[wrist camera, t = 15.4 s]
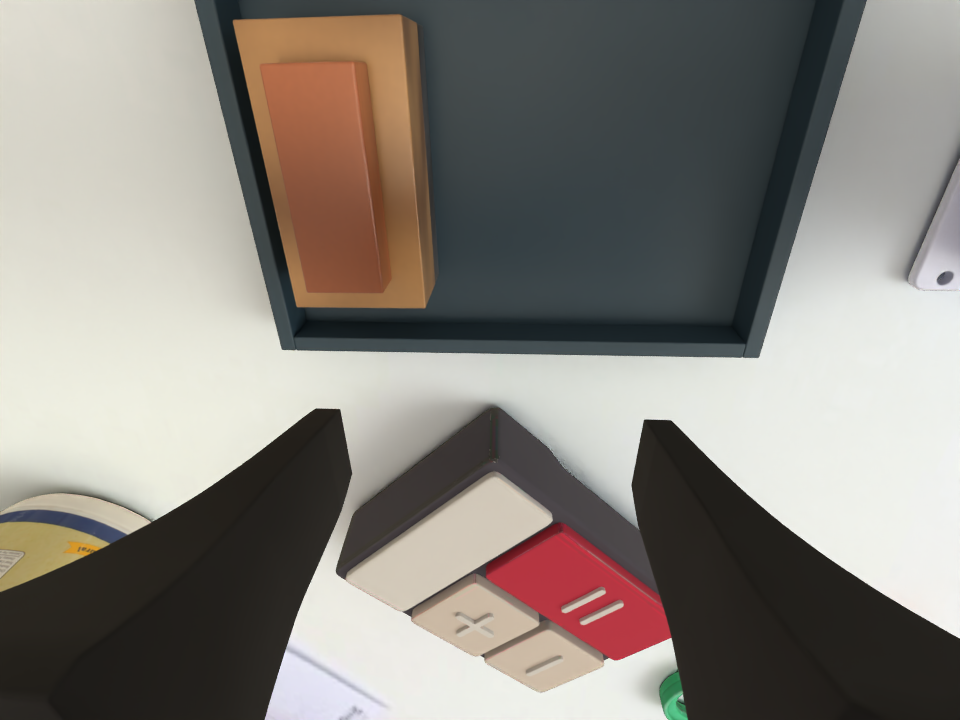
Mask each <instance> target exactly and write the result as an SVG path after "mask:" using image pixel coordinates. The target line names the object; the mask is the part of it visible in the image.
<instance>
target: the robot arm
mask: <svg viewBox="0 0 960 720" xmlns="http://www.w3.org/2000/svg"><path fill="white" fill-rule="evenodd" d="M943 272H945V275H944V276H943V277H942V278H941V279H939V280H937V278H938V276H939V275H940V274H942V273H943ZM908 281H909V284H910V285H912V286H913V287H915V288H916V289H918V290H923V291H960V159H959V161H958V163H957V166H956V168H955V170H954V172H953V175H952V177H951V179H950V182H949V184H948V186H947V189H946V191H945V193H944V195H943V198H942V200H941V202H940V205H939V207H938V209H937V212H936V214H935V216H934V218H933V221H932V223H931V225H930V228H929V230H928V232H927V235H926V237H925V239H924V241H923V244H922V246H921V248H920V251H919V253H918V255H917V258H916V260H915V262H914V264H913V267H912V269H911V271H910V274H909V277H908ZM351 476H352V470H351V465H350V459H349V454H348V449H347V443H346V438H345V433H344V427H343V422H342V417H341V411H340V409H314V410H313V411H311V412H310V413H309V414H307V415H306V416H305V417H303V418H302V419H301V420H299V421H298V422H297V423H296V424H294V425H293V426H292V427H290V428H289V429H288V430H287V431H285V432H284V433H283V434H282V435H280V436H279V437H278V438H276V439H275V440H274V441H273V442H271V443H270V444H269V445H267V446H266V447H265V448H263V449H262V450H261V451H260V452H258V453H257V454H256V455H254V456H253V457H252V458H250V459H249V460H248V461H246V462H245V463H243V464H242V465H241V466H239V467H238V468H236V469H235V470H233V471H232V472H231V473H229V474H228V475H226V476H225V477H224V478H222V479H221V480H219V481H218V482H216V483H215V484H214V485H212V486H211V487H209V488H208V489H206V490H205V491H203V492H202V493H200V494H198V495H197V496H195V497H194V498H192V499H191V500H189V501H187V502H186V503H184V504H182V505H181V506H179V507H177V508H176V509H174V510H172V511H171V512H169V513H167V514H166V515H164V516H162V517H160V518H158V519H157V520H155V521H153V522H151V523H149V524H147V525H145V526H144V527H142V528H140V529H138V530H136V531H134V532H132V533H130V534H128V535H126V536H124V537H122V538H121V539H119V540H117V541H115V542H113V543H111V544H109V545H107V546H105V547H103V548H101V549H99V550H97V551H95V552H93V553H90V554H88V555H86V556H84V557H82V558H80V559H78V560H75V561H73V562H71V563H69V564H67V565H64V566H62V567H60V568H57V569H55V570H53V571H51V572H48V573H46V574H44V575H41V576H39V577H37V578H34V579H32V580H29V581H27V582H25V583H22V584H20V585H17V586H14V587H12V588H9V589H7V590H4V591H2V592H0V720H265V716H266V712H267V709H268V705H269V702H270V699H271V695H272V692H273V689H274V685H275V682H276V679H277V676H278V672H279V669H280V666H281V662H282V659H283V656H284V653H285V650H286V647H287V644H288V641H289V638H290V635H291V631H292V628H293V625H294V622H295V619H296V616H297V614H298V611H299V608H300V606H301V603H302V601H303V598H304V596H305V593H306V591H307V589H308V587H309V584H310V582H311V580H312V577H313V575H314V573H315V571H316V568H317V566H318V564H319V562H320V559H321V557H322V555H323V552H324V550H325V548H326V546H327V543H328V541H329V539H330V536H331V534H332V532H333V530H334V527H335V525H336V523H337V520H338V518H339V515H340V513H341V511H342V507H343V504H344V501H345V497H346V494H347V490H348V487H349V483H350V479H351ZM632 491H633V498H634V504H635V510H636V515H637V521H638V526H639V529H640V533H641V536H642V540H643V543H644V546H645V550H646V553H647V556H648V560H649V563H650V566H651V569H652V573H653V576H654V579H655V582H656V586H657V589H658V592H659V595H660V599H661V602H662V605H663V608H664V612H665V615H666V618H667V622H668V626H669V630H670V633H671V637H672V642H673V647H674V651H675V656H676V661H677V666H678V671H679V676H680V681H681V686H682V691H683V697H684V702H685V707H686V713H687V718H688V720H960V639H959V638H958V637H956V636H954V635H952V634H950V633H949V632H947V631H945V630H943V629H942V628H940V627H938V626H936V625H935V624H933V623H931V622H929V621H928V620H926V619H924V618H922V617H921V616H919V615H917V614H915V613H914V612H912V611H910V610H908V609H907V608H905V607H903V606H902V605H900V604H898V603H897V602H895V601H893V600H892V599H890V598H889V597H887V596H885V595H884V594H882V593H880V592H879V591H877V590H876V589H874V588H872V587H871V586H869V585H868V584H866V583H865V582H863V581H862V580H860V579H859V578H857V577H856V576H854V575H853V574H851V573H850V572H848V571H846V570H845V569H843V568H842V567H840V566H839V565H837V564H836V563H835V562H833V561H832V560H830V559H829V558H827V557H826V556H824V555H823V554H822V553H820V552H819V551H817V550H816V549H815V548H813V547H812V546H811V545H809V544H808V543H807V542H805V541H804V540H803V539H801V538H800V537H799V536H797V535H796V534H795V533H793V532H792V531H791V530H789V529H788V528H787V527H786V526H784V525H783V524H782V523H781V522H779V521H778V520H777V519H776V518H774V517H773V516H772V515H771V514H770V513H768V512H767V511H766V510H765V509H764V508H763V507H761V506H760V505H759V504H758V503H757V502H755V501H754V500H753V499H752V498H751V497H750V496H748V495H747V494H746V493H745V492H744V491H743V490H742V489H741V488H740V487H739V486H737V485H736V484H735V483H734V482H733V481H732V480H731V479H730V478H729V477H728V476H727V475H726V474H725V473H724V472H722V471H721V470H720V469H719V468H718V467H717V466H716V465H715V464H714V463H713V462H712V461H711V460H710V459H709V458H708V457H707V456H706V455H705V454H704V453H703V452H702V451H701V450H700V449H699V448H698V447H697V446H696V445H695V444H694V443H693V442H692V441H691V440H690V439H689V438H688V437H687V436H686V435H685V434H684V433H683V432H682V431H681V430H680V429H679V428H678V427H677V426H676V425H675V424H674V423H673V422H672V421H671V420H644V423H643V428H642V433H641V438H640V444H639V449H638V454H637V459H636V464H635V470H634V475H633V480H632Z"/></svg>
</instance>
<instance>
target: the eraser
mask: <svg viewBox="0 0 960 720" xmlns="http://www.w3.org/2000/svg"><path fill="white" fill-rule="evenodd" d="M233 25H234V29H235V34H236V38H237V43H238V47H239V52H240V56H241V61H242V65H243V70H244V74H245V78H246V83H247V87H248V92H249V96H250V101H251V105H252V110H253V114H254V119H255V123H256V128H257V132H258V136H259V141H260V145H261V150H262V154H263V159H264V163H265V168H266V172H267V177H268V181H269V186H270V190H271V194H272V199H273V203H274V208H275V212H276V217H277V221H278V226H279V230H280V235H281V239H282V244H283V248H284V252H285V257H286V261H287V266H288V270H289V275H290V279H291V284H292V288H293V293H294V297H295V302H296V306H297V307H336V308H426V305H427V303H428V300H429V298H430V295H431V293H432V291H433V288H434V286H435V283H436V280H437V278H438V275H439V266H438V251H437V236H436V220H435V205H434V190H433V174H432V159H431V144H430V129H429V113H428V98H427V83H426V67H425V52H424V37H423V27H422V25H420V24H418V23H416V22H414V21H412V20H410V19H408V18H406V17H404V16H403V15H400V14H389V15H359V16H328V17H298V18H268V19H238V20H233Z"/></svg>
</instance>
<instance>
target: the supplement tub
mask: <svg viewBox="0 0 960 720" xmlns="http://www.w3.org/2000/svg"><path fill="white" fill-rule="evenodd" d="M149 523H151V522H150V521H149V520H147V519H146V518H144V517H142V516H140V515H138V514H136V513H134V512H132V511H130V510H128V509H126V508H124V507H122V506H119V505H116V504H113V503H110V502H107V501H104V500H101V499H97V498H93V497H88V496H83V495H75V494H65V493H56V494H46V495H40V496H35V497H32V498H28V499H26V500H23V501H20V502H18V503H16V504H14V505H12V506H10V507H8V508H7V509H5V510H3V511H2V512H0V592H2V591H4V590H7V589H9V588H12V587H14V586H17V585H20V584H22V583H25V582H27V581H29V580H32V579H34V578H37V577H39V576H41V575H44V574H46V573H48V572H51V571H53V570H55V569H57V568H60V567H62V566H64V565H67V564H69V563H71V562H73V561H75V560H78V559H80V558H82V557H84V556H86V555H88V554H90V553H93V552H95V551H97V550H99V549H101V548H103V547H105V546H107V545H109V544H111V543H113V542H115V541H117V540H119V539H121V538H122V537H124V536H126V535H128V534H130V533H132V532H134V531H136V530H138V529H140V528H142V527H144V526H145V525H147V524H149Z"/></svg>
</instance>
